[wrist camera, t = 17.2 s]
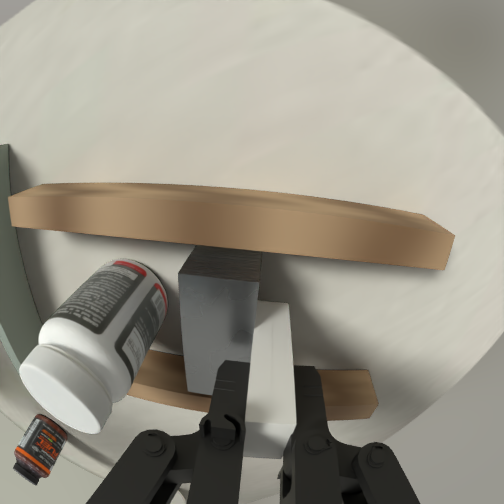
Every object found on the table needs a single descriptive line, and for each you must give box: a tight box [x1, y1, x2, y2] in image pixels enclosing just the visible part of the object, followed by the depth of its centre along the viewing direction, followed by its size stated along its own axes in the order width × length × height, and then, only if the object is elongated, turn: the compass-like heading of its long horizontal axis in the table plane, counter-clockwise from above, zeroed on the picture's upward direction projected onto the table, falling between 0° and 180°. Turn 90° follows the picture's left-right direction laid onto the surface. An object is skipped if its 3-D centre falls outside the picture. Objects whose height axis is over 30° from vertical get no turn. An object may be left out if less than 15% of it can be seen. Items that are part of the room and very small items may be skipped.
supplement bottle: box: [13, 414, 67, 485], centre depth 21 cm, size 6×6×11 cm
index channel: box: [8, 183, 455, 421], centre depth 13 cm, size 21×12×3 cm, turn 85°
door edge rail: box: [0, 144, 42, 376], centre depth 13 cm, size 2×18×4 cm, turn 175°
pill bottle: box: [19, 259, 168, 434], centre depth 11 cm, size 5×5×8 cm
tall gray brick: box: [178, 245, 262, 395], centre depth 13 cm, size 3×7×4 cm, turn 175°
